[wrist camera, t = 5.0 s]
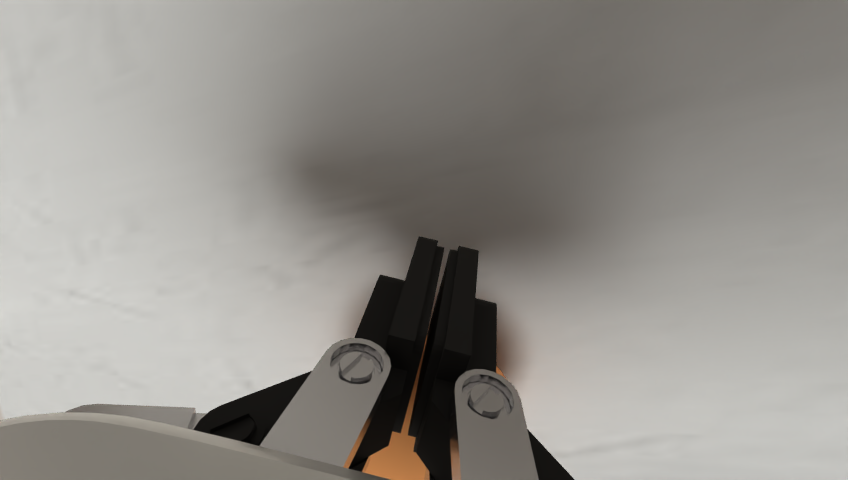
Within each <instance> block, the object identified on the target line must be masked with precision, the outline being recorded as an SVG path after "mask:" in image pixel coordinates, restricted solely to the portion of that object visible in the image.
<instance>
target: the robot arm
mask: <svg viewBox="0 0 848 480" xmlns="http://www.w3.org/2000/svg"><path fill="white" fill-rule="evenodd" d="M437 243H438V241H436V240H432V239H428V238H424V237H420V236H419V238H418V241H417V244H416V247H415V251H414V254H413V257H412V260H411V264H410V267H409V270H408V273H407V277H406V280H405V281H404V280H400V279H396V278H392V277H388V276H384V275H380V276H379V278H378V280H377V283H376V285H375V288H374V290H373V293H372V295H371V298H370V300H369V303H368V305H367V308H366V310H365V313H364V315H363V318H362V320H361V323H360V325H359V328H358V330H357V333H356V335H355V338H349V339H344V340H340V341H338V342H337V343H335V344H333V345H332V346H331V347H330V348H329V349H328V350H327V351H326V352H325V353H324V355H323V356H322V358H321V359H320V361H319V362H318V363H317V365H316V366H315V368H314V369H313V370H312V371H310V372H308V373H305V374H302V375H300V376H297V377H295V378H292V379H289V380H287V381H284V382H281V383H279V384H276V385H273V386H271V387H268V388H266V389H263V390H260V391H258V392H255V393H252V394H250V395H247V396H244V397H242V398H239V399H237V400H234V401H231V402H229V403H226V404H223V405H221V406H219V407H217V408H215V409H213V410H211V411H210V412H208V413H207V414H203V413H196V411H195V408H186V407H161V406H136V405H111V404H92V405H83V406H80V407H77V408H74V409H71V410H68V411H66V412H60V413H49V414H38V415H26V416H21V417H15V418H9V419H4V420H0V480H391V479H387V478H383V477H379V476H375V475H371V474H367V473H365V471H366V469H367V467H368V464H369V461H370V457H371V455H372V454H374V453H376V452H378V451H380V450H382V449H383V448H385V447H387V446H389V443H390V439H391V435H392V431H393V432H397V433H401V430H402V427H403V423H404V419H405V416H406V412H407V408H408V405H409V401H410V397H411V394H412V390H413V386H414V383H415V379H416V375H417V372H418V368H419V364H420V361H421V357H422V353H423V349H424V345H425V341H426V345H425V350H424V355H423V360H422V365H421V370H420V375H419V380H418V385H417V390H416V395H415V400H414V405H413V410H412V415H411V420H410V425H409V430H408V435H409V436H412V437H416V438H415V444H414V450H413V452H416V453H417V455H418V456H419V458H420V459H421V461H422V462H423V463H424V465H425V466H426V471H425V478H424V480H574V479H573V478H572V476H571V475H570V474H569V473H568V472H567V471H566V470H565V469H564V468H563V467H562V466H561V465H560V464H559V463H558V461H557V460H556V459H555V458H554V457H553V456H552V455H551V454H550V453H549V452H548V451H547V450H546V449H545V447H544V446H543V445H542V444H541V443H540V442H539V441H538V440H537V439H536V438H535V437H534V436H533V435H532V434H531V432H530V431H529V430H528V429H527V425H526V421H525V417H524V412H523V408H522V403H521V399H520V397H519V394H518V392H517V390H516V389H515V388H514V386H513V385H512V384H511V383H510V382H509V381H508V380H507V379H506V378H504V377H503V376H501V375H499V374H497V373H496V331H497V307H496V303H492V302H488V301H484V300H480V299H476V298H475V294H476V281H477V267H478V253H479V251H477V250H473V249H469V248H465V247H461V246H459V248H458V251H455V250H451V249H450V252H449V256H448V259H447V263H446V267H445V270H444V274H443V278H442V282H441V285H440V289H439V293H438V296H437V300H436V304H435V307H434V311H433V315H432V318H431V322H430V317H431V312H432V307H433V302H434V297H435V292H436V287H437V282H438V277H439V272H440V267H441V262H442V257H443V252H444V248H443V247H439V246H437ZM429 322H430V326H429ZM428 327H429V330H428ZM427 332H428V335H427ZM426 336H427V340H426Z"/></svg>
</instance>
